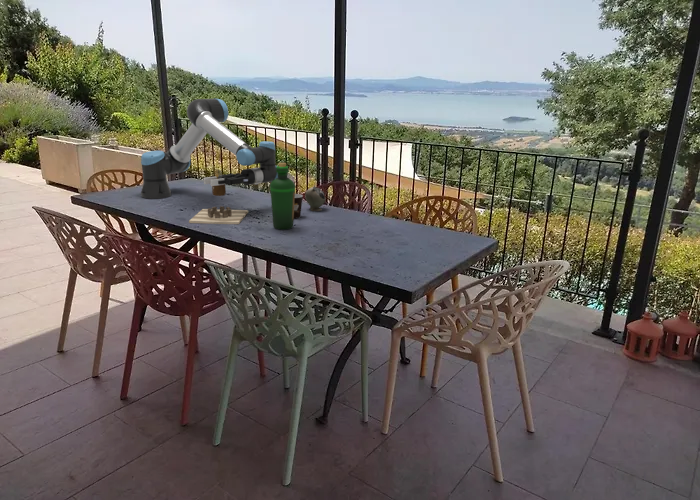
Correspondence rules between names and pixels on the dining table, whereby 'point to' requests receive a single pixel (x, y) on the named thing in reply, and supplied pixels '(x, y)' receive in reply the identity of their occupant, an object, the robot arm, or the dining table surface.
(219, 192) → the utensil holder
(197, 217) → the ring collar board
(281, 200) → the bottle
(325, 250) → the dining table surface
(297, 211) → the coffee mug
